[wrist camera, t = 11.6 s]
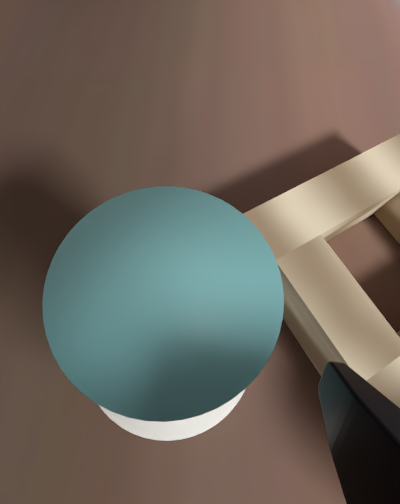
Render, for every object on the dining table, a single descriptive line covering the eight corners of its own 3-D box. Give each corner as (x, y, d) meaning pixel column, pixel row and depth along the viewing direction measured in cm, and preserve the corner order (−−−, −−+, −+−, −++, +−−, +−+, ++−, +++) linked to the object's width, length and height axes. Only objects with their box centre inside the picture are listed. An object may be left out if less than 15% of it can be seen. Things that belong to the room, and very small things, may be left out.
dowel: (179, 416, 18) (190, 486, 6) (104, 354, 18) (-13, 310, 7) (234, 334, 19) (324, 267, 8) (163, 282, 20) (150, 151, 9)
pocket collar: (361, 436, 19) (407, 451, 15) (231, 241, 23) (242, 213, 19) (511, 315, 22) (580, 303, 18) (376, 164, 26) (409, 128, 22)
